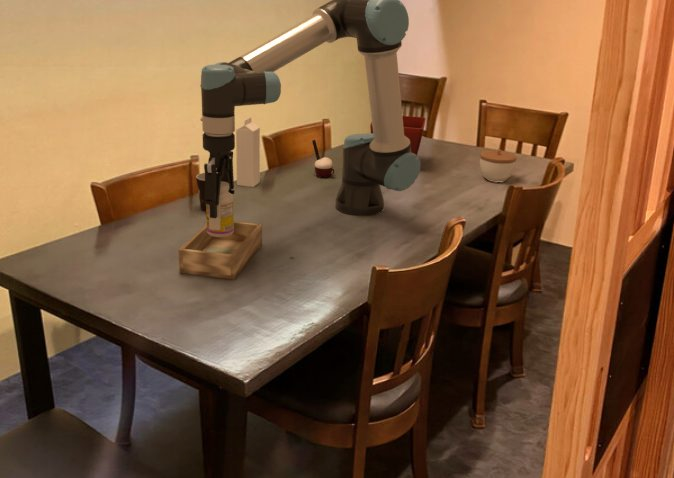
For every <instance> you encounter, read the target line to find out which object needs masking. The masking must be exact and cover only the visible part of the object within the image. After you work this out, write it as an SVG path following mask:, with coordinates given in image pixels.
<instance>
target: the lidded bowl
mask: <svg viewBox="0 0 674 478" xmlns="http://www.w3.org/2000/svg"><path fill="white" fill-rule="evenodd" d="M516 161H517V156H516V154H513V153H512V152H508V151H504V150H502V149H497V150H484V151H482V152H480V155H479V170H480V173H481V175H482V176H483V177H484V179H485V178H486V179H489V180H493V181H504V180H505V181H506V180H507V179H509V178H511V176H512V175H513V172H514V170H515V167H516ZM486 179H485V180H486Z"/></svg>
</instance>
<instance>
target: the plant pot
mask: <svg viewBox="0 0 674 478" xmlns="http://www.w3.org/2000/svg"><path fill="white" fill-rule="evenodd" d="M402 117H403V128H404V136H406V137H407V138H408V139H409V140H410V145H411V153H414V154H416V156H418V153H419V150H420V146H421V143H422V142H421V141H422V138H423V134H424V130H425V125H426V124H425V123H426V119H427V118H426V117H425V116H424V117H423V116H412V115H411V116H410V115H402ZM369 126H370V127H369V128H370V133H372V134H373V126H372V121H371V123H370V124H369Z"/></svg>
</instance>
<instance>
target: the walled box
mask: <svg viewBox="0 0 674 478" xmlns="http://www.w3.org/2000/svg"><path fill="white" fill-rule="evenodd" d="M261 247H263V224H260V223H254V222H253V223H251V222H243V221H242V222H241V221H234V232H233V233H232V234H231V235H230V236H227V237H213V236H210V235H209V234H208V233H207V223H206V224H204V225H203V226H202V227H201V228H200V229H199V230H198V231H197V232H196V233H195V234H194V235H193V236H192V237H190V238H189V239H188V240H187V241H186V242H185V243H184V244H183V245H182V246H181V247H179V249H178V266H179V267H178V268H179V273H181V274H187V275H194V276H204V277H211V278H218V279H219V278H220V279H226V280H234V281H235V280H236V279H237V278H238V276H239V275H240V274H241V273H242V272H243V270H244V269H245V268H246V266H247V265H248V264H249V262H251V260H252V259H253V257H254V256H255V255H256V254H257V253H258V251H259V249H261Z"/></svg>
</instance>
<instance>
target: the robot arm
mask: <svg viewBox="0 0 674 478" xmlns="http://www.w3.org/2000/svg"><path fill="white" fill-rule="evenodd" d="M409 23H410V20H409V14H408V11H407V9H406V6H405V5H404V3H403V2H402V1H400V0H330V1H328V2H327V3H325V4H322V5H321V6H319V7H317V8H315V9H314V10H313V12H312V15H311V16H310V17H307V18H306V19H305V20H301V21H300V22H298V23H297V24H296V25H293V26H291V27H290V28H288V29H286V30H284V31H283V32H281V33H280V34H277V35H275V36H274V37H272V38H271V39H268V40H267V41H265V42H263V43H262V44H260V45H258V46H256V47H254V48H253V49H251V50H249V51H247V52H246V53H244V54H242V55H240V56H239V57H236V58H234V59H233V60H231V61H229V62H227V61H226V62H225V61H224V62H217V63H215V64H207V65H205V66H203V67H202V68H201V71H200V72H201V75H200V89H201V90H200V92H201V93H200V94H201V117H200V121H201V122H202V123H201V124H202V125H201V126H202V131H203V133H202V149H203V150H205V151H207V152H208V153H209V157H208V159H207V160H208V163H204V165H203V169H204V173H205V202H204V203H205V204H207V205H209V229H212V230H221V209H220V204H219V195H220V185H221V181H223V182H227V183H229V190H228V192H229V193H231V194H232V195H234V194H235V190H234V188H235V183H234V182H235V181H234V161H233V160H234V159H233V158H234V152H233V150H234V149H235V148H236V134H234V133H235V132H236V121H235V120H236V119H235V116H236V115H235V108H236V107H241V106H243V107H244V106H255V105H266V104H272V103H275V102H277V101H278V100H279V99H280V98H281V97H280V96H281V94H282V84H281V81H280V78H279V76H278V74H276V73H275V72H276V71H278V70H279V69H281V68H283V67H285V66H286V65H288V64H290V63H292V62H293V61H295V60H297V59H298V58H300V57H302V56H303V55H305V54H307V53H309V52H311V51H313V50H314V49H316V48H317V47H319V46H321V45H324V43H326V42H327V43H328V44H332V43H334V42H336V41H338V40H339V39H343V38H344V39H345V38H353V39H354V38H355V39H356V46H357V51H358V53H359V54H361V55H362V56H364V62H365V64H364V65H365V72H366V80H367V81H366V82H367V88H368V89H367V90H368V98H369V105H370V106H369V109H370V116H371V122H372V126H373V134H372V133H371V132H370V133H353V134H350V135H347V136H345V138H344V140H343V147H342V150H343V151H342V170H341V171H342V177H341V184H340V187H339V190H338V192H337V195H336V197H335V209H336V210H338V211H339V212H341V213H343V214H344V213H345V214H347V215H353V216H372V214H373V215H377V214H380V213H382V212H383V211H384V210H383V209H385V207H384V206H385V201H384V195H383V193H382V189H381V186H382V187H384V188H386V189H387V190H392V191H395V192H402V191H405V190H407V189H409V188H410V187H411V186H413V185H414V183H415V182H416V180H417V179H418V177H419V174H420V172H421V164H422V163H421V160H420V158H419V156H418V155H417V156H416V154H414V153H411V145H410V140H409V139H408V138H407V137H406V136H404V128H403V117H402V116H403V108H402V97H401V88H400V87H401V84H400V75H399V74H400V73H399V65H398V54H397V52H398V51H399V50H400V49H401V48H402V46H403V45H402V41H403V40H404V39H405V37H406V35H407V34H406V33H407V32H408V31H409V26H410V24H409ZM382 210H383V211H382ZM381 211H382V212H381ZM379 212H380V213H379ZM376 213H377V214H376Z"/></svg>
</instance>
